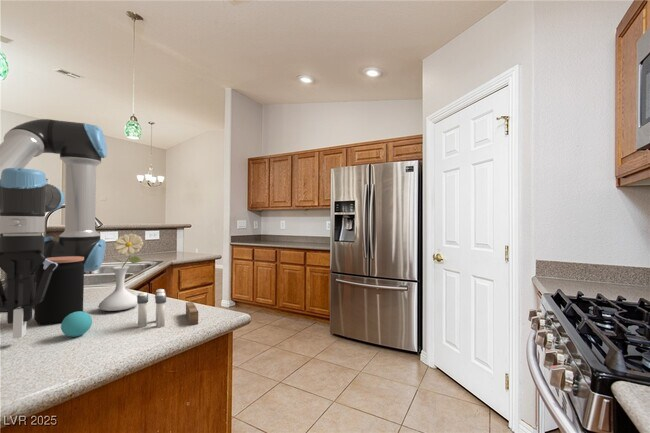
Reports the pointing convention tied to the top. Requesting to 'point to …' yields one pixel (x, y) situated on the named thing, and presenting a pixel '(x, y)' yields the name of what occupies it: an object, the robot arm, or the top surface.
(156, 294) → the left back pin
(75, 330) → the ball
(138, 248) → the flower in vase
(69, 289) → the coffee jar
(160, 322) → the right back pin
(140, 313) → the front pin
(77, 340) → the top surface
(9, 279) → the robot arm
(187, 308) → the back wall
